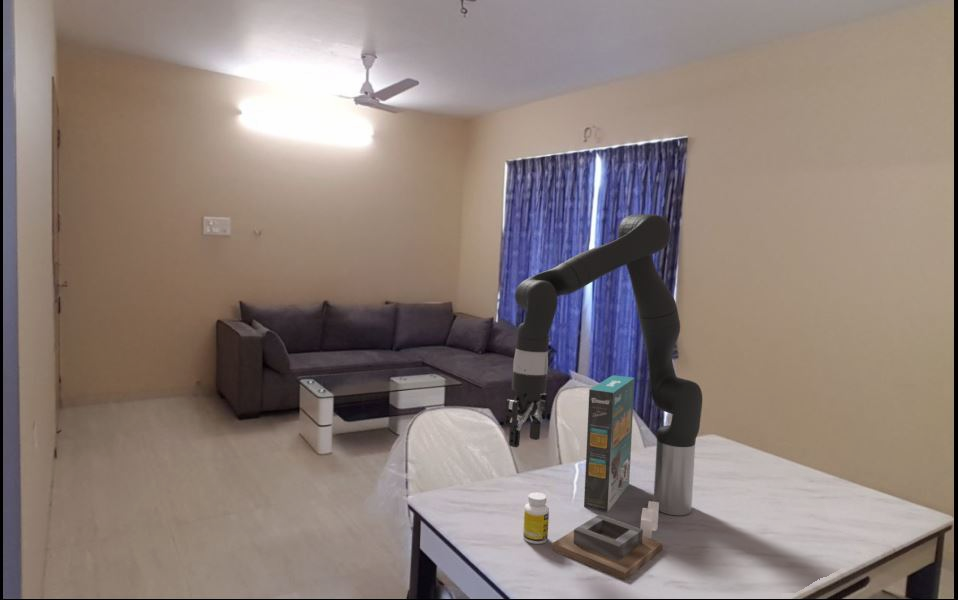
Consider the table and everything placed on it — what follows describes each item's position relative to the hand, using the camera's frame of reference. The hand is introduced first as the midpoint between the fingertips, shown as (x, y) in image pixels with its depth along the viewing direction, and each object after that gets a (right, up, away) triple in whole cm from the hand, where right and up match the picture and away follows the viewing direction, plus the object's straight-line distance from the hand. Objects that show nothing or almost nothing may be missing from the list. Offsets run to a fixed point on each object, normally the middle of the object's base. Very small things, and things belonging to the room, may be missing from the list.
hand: (524, 442), depth 131 cm
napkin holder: (+30, -23, +6) cm, 38 cm away
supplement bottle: (+2, -22, 0) cm, 22 cm away
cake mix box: (+24, -20, +26) cm, 41 cm away
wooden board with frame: (+18, -22, -4) cm, 28 cm away
